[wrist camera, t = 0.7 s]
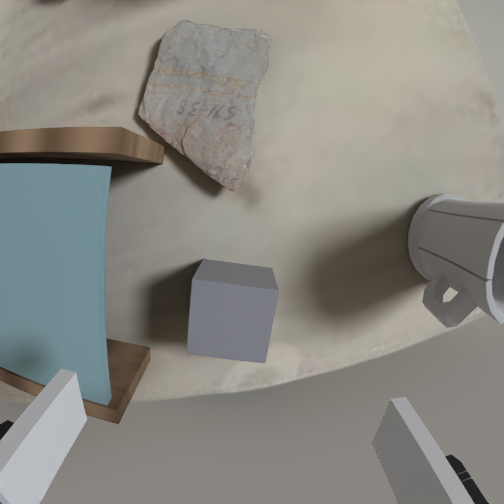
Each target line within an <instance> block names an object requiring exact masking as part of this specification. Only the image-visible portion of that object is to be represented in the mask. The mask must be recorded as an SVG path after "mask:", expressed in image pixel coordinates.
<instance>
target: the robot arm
mask: <svg viewBox="0 0 504 504" xmlns="http://www.w3.org/2000/svg"><path fill="white" fill-rule="evenodd" d="M86 421H87V417H86V413H85V409H84V405H83V401H82V397H81V393H80V388H79V384H78V379H77V374H76V372H72V371H69V370H65V369H62V368H61V369H60V371H59V372H58V373H57V374H56V375H55V376H54V377H53V378H52V380H51V381H50V382H49V383H48V384H47V385H46V386H45V388H44V389H43V390H42V391H41V392H40V393H39V394H38V396H37V397H36V398H35V399H34V400H33V401H32V403H31V404H30V405H29V406H28V407H27V409H26V410H25V411H24V412H23V413H22V415H21V416H20V417H19V418H18V419H17V421H16V422H15V423H13V422H11V421H8V420H7V421H5V422H4V423H2V424H0V504H40V502H41V500H42V498H43V496H44V495H45V493H46V491H47V489H48V487H49V485H50V483H51V482H52V480H53V478H54V476H55V474H56V473H57V471H58V469H59V467H60V466H61V464H62V462H63V460H64V459H65V457H66V455H67V453H68V451H69V450H70V448H71V446H72V445H73V443H74V441H75V439H76V438H77V436H78V434H79V433H80V431H81V429H82V427H83V426H84V424H85V423H86ZM372 445H373V447H374V449H375V451H376V454H377V456H378V458H379V460H380V463H381V465H382V467H383V469H384V472H385V474H386V476H387V478H388V481H389V483H390V485H391V488H392V490H393V492H394V495H395V497H396V499H397V502H398V504H489V503H488V502H487V501H486V499H485V498H484V496H483V495H482V493H481V492H480V490H479V488H478V487H477V485H476V484H475V482H474V481H473V479H471V476H470V475H469V473H468V472H466V469H465V467H464V466H463V464H462V463H461V462H460V461H459V460H458V459H457V458H455V457H454V456H453V455H449V456H444V454H443V453H442V452H441V450H440V448H439V447H438V445H437V444H436V442H435V441H434V439H433V438H432V436H431V435H430V433H429V432H428V430H427V429H426V427H425V426H424V424H423V423H422V421H421V420H420V418H419V417H418V415H417V414H416V412H415V411H414V409H413V408H412V406H411V405H410V403H409V402H408V401H407V399H406V398H396V399H391V400H390V402H389V404H388V407H387V409H386V412H385V414H384V416H383V419H382V421H381V423H380V426H379V428H378V430H377V432H376V435H375V437H374V439H373V441H372Z"/></svg>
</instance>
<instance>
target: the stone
mask: <svg viewBox="0 0 504 504" xmlns="http://www.w3.org/2000/svg"><path fill="white" fill-rule="evenodd" d="M270 43H271V38H270V36H269V35H267V34H266V33H264V32H263V31H261V30H254V29H225V28H221V27H218V26H212V25H204V24H197V23H194V22H190V21H188V20H185V21H181V22H179V23H178V24H177V25H176V26H174V27H173V28H172V29H171V30H169V31H167V32H166V33H165V35H164V36H163V38H162V42H161V44H160V47H159V52H158V56H157V59H156V60H155V66H154V69H153V71H152V72H151V74H150V77H149V79H148V82H147V86H146V90H145V93H144V95H143V97H142V102H141V104H140V106H139V110H138V114H139V116H140V117H141V119H143V120H144V121H145V122H147V123H148V125H149V127H150V128H151V129H153V130H154V131H155V132H156V133H157V134H159V135H160V136H161V137H162V138H163V139H164V140H165V141H166V142H167V143H169V144H170V145H171V146H172V147H174V148H175V149H177V150H178V151H179V152H180V153H181V154H182V155H184V156H185V157H186V158H188V159H189V160H190V161H192V162H193V163H194V164H195V165H197V167H198V168H200V169H201V170H202V171H203V172H204V173H205V174H207V175H208V176H209V177H211V178H212V179H214V180H215V181H217V182H218V183H220V184H221V185H223V186H224V187H226V188H228V189H229V190H231V191H236V190H237V189H238V188H239V186H240V185H241V183H242V182H243V181H244V179H245V177H246V176H247V174H248V172H249V169H250V167H251V166H252V159H253V157H254V150H253V149H252V142H251V134H252V130H253V126H254V108H255V99H256V90H257V88H258V86H259V84H260V81H261V79H262V77H263V75H264V74H265V72H266V70H267V68H268V64H269V58H268V50H269V47H270Z"/></svg>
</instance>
